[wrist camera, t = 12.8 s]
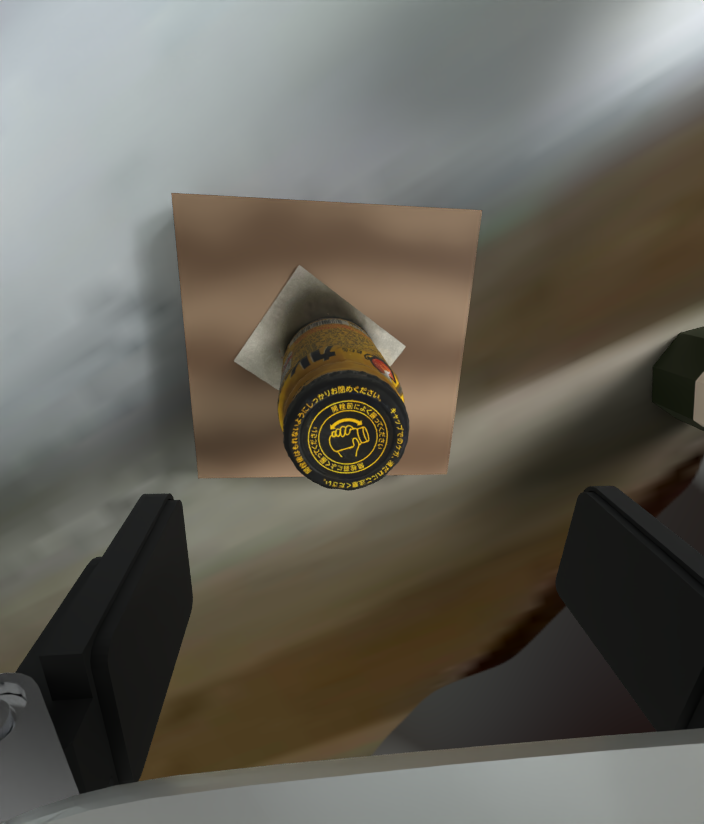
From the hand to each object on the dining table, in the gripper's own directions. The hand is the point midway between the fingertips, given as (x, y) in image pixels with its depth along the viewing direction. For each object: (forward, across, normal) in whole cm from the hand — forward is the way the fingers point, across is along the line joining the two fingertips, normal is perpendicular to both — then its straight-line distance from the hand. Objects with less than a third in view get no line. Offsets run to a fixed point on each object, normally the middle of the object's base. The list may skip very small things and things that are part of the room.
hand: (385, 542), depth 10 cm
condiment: (+20, +1, 0) cm, 20 cm away
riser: (+24, 0, 0) cm, 24 cm away
